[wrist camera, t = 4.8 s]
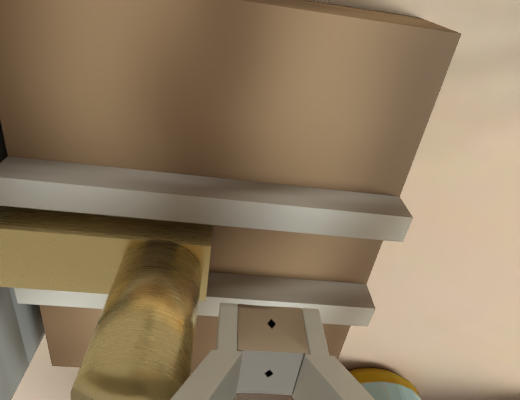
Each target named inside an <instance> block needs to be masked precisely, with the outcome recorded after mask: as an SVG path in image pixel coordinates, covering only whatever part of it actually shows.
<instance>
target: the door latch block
mask: <svg viewBox="0 0 520 400" xmlns="http://www.w3.org/2000/svg"><path fill="white" fill-rule="evenodd" d="M460 36H461V34H460V33H458V32H455V31H453V30H450V29H448V28H445V27H442V26H440V25H437V24H435V23H432V22H429V21H427V20H424V19H422V18H417V17H410V16H404V15H397V14H391V13H384V12H378V11H371V10H365V9H358V8H352V7H345V6H339V5H332V4H326V3H320V2H313V1H307V0H0V206H10V207H21V208H32V209H43V210H54V211H65V212H76V213H87V214H98V215H109V216H121V217H132V218H143V219H154V220H165V221H176V222H187V223H198V224H209V225H213V233H212V243H211V254H210V264H209V274H208V284H207V294H206V301H199V305H198V313H197V321H196V330H195V338H194V346H193V355H192V363H191V371H190V373H193V372H194V370H195V369H196V368H197V367H198V366H199V364H200V363H201V362H202V361H203V360H204V358H205V357H206V356H207V355H208V354H209V352H210V351H211V350H215V342H216V332H217V323H218V314H219V306H220V302H221V303H232V304H247V305H258V306H277V307H296V308H312V309H318V310H319V312H320V316H321V320H322V325H323V329H324V334H325V338H326V343H327V347H328V352H329V356H335V357H336V358H337V359H338V357H339V355H340V352H341V349H342V347H343V344H344V341H345V339H346V336H347V334H348V331H349V328H350V326H351V325H353V326H368V325H369V323H370V320H371V318H372V315H373V313H374V310H375V306H374V304H373V301H372V298H371V296H370V293H369V290H368V288H367V285H366V283H367V281H368V278H369V276H370V273H371V270H372V268H373V265H374V262H375V260H376V257H377V254H378V252H379V249H380V247H381V244H382V241H383V240H386V241H397V242H403V240H404V238H405V236H406V233H407V231H408V228H409V226H410V223H411V221H412V219H413V217H412V216H411V214H410V212H409V211H408V209H407V208H406V206H405V205H404V203H403V201H402V200H401V198H400V194H401V191H402V189H403V186H404V183H405V181H406V178H407V175H408V173H409V170H410V168H411V165H412V162H413V160H414V157H415V154H416V152H417V149H418V147H419V144H420V141H421V139H422V136H423V133H424V131H425V128H426V125H427V123H428V120H429V118H430V115H431V112H432V110H433V107H434V104H435V102H436V99H437V96H438V94H439V91H440V89H441V86H442V83H443V81H444V78H445V75H446V73H447V70H448V67H449V65H450V62H451V60H452V57H453V54H454V52H455V49H456V46H457V44H458V41H459V39H460ZM107 297H108V294H98V293H83V292H69V291H55V290H40V289H26V288H12V287H0V400H11V399H12V397H13V395H14V393H15V391H16V389H17V387H18V385H19V383H20V381H21V379H22V378H23V376H24V374H25V372H26V370H27V368H28V366H29V364H30V362H31V360H32V358H33V356H34V354H35V352H36V350H37V348H38V346H39V344H40V342H41V340H42V338H43V336H44V334H46V339H47V344H48V348H49V353H50V358H51V363H52V366H65V367H81V365H82V362H83V359H84V357H85V354H86V352H87V349H88V346H89V344H90V341H91V339H92V336H93V333H94V331H95V328H96V326H97V323H98V320H99V318H100V315H101V313H102V310H103V307H104V305H105V302H106V300H107Z"/></svg>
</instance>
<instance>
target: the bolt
mask: <svg viewBox="0 0 520 400" xmlns="http://www.w3.org/2000/svg"><path fill="white" fill-rule="evenodd" d="M212 233H213V225H209V224H198V223H187V222H176V221H165V220H154V219H143V218H132V217H121V216H109V215H98V214H87V213H76V212H65V211H54V210H43V209H32V208H21V207H10V206H0V287H12V288H26V289H40V290H55V291H69V292H83V293H98V294H108V297H107V300H106V302H105V305H104V307H103V310H102V313H101V315H100V318H99V320H98V323H97V326H96V328H95V331H94V333H93V336H92V339H91V341H90V344H89V346H88V349H87V352H86V354H85V357H84V359H83V362H82V365H81V367H80V370H79V372H78V375H77V378H76V380H75V383H74V385H73V388H72V391H71V400H170V399H171V398H172V397H173V396H174V394H175V393H176V392H177V391H178V390H179V388H180V387H181V386H182V385H183V384H184V382H185V381H186V380H187V379H188V378H189V376H190V371H191V363H192V355H193V346H194V338H195V330H196V321H197V313H198V305H199V301H206V294H207V284H208V274H209V264H210V254H211V243H212Z"/></svg>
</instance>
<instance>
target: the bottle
mask: <svg viewBox="0 0 520 400" xmlns="http://www.w3.org/2000/svg"><path fill="white" fill-rule="evenodd" d="M349 372H350V373H351V374H352V376H353V377H354V378H355V379H356V380H357V381H358V382H359V383H360V384H361V385H362V386H363V387H364V388H365V390H366V391H367V392H368V393H369V394H370V395H371V396H372V397H373V398H374V399H375V400H421V398H420V397H419V394H418V392H417V390H416V388H415V387H414V386H413V385H412V384H411V383H410V382H409V381H408V380H406V379H405V378H403V377H401V376H399V375H397V374H395V373H393V372H391V371H388V370H385V369H378V368H358V369H353V370H350V371H349Z"/></svg>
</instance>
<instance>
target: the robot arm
mask: <svg viewBox="0 0 520 400" xmlns="http://www.w3.org/2000/svg"><path fill="white" fill-rule="evenodd" d="M236 393H265V394H279V395H293V396H292V397H293V399H294V400H375V399H374V398H373V397H372V396H371V395H370V394H369V393H368V392H367V391H366V390H365V388H364V387H363V386H362V385H361V384H360V383H359V382H358V381H357V380H356V379H355V378H354V377H353V376H352V374H351V373H350V372H349V371H348V370H347V369H346V368H345V367H344V366H343V365H342V364H341V363H340V362H339V360H338V359H337V358H336V357H335V356H329V352H328V347H327V343H326V338H325V334H324V329H323V325H322V320H321V316H320V312H319V310H318V309H312V308H296V307H277V306H258V305H247V304H232V303H221V302H220V306H219V314H218V323H217V332H216V342H215V350H211V351H210V352H209V354H208V355H207V356H206V357H205V358H204V360H203V361H202V362H201V363H200V364H199V366H198V367H197V368H196V369H195V370H194V372H193V373H192V374H191V375H190V376H189V378H188V379H187V380H186V381H185V382H184V384H183V385H182V386H181V387H180V388H179V390H178V391H177V392H176V393H175V394H174V396H173V397H172V398H171V399H170V400H233V399H234V397H235V396H236Z"/></svg>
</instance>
